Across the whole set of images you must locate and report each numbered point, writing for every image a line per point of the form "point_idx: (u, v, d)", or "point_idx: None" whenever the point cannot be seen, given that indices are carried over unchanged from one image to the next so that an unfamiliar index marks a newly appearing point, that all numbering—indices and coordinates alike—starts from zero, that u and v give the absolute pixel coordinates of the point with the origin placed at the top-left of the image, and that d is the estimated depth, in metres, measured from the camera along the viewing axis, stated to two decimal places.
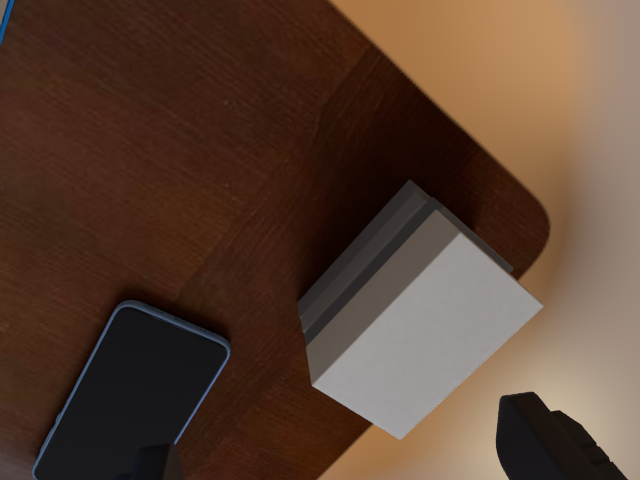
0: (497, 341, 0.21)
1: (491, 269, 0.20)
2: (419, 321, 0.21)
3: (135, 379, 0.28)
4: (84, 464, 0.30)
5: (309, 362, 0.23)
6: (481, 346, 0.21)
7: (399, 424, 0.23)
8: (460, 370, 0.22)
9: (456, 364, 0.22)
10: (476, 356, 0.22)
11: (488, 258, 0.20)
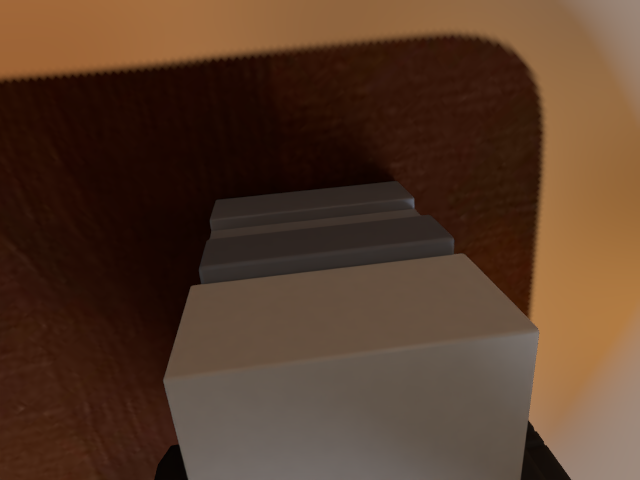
0: (505, 457, 0.08)
1: (323, 377, 0.07)
2: None
3: None
4: None
5: None
6: None
7: None
8: None
9: None
10: None
11: (290, 366, 0.07)
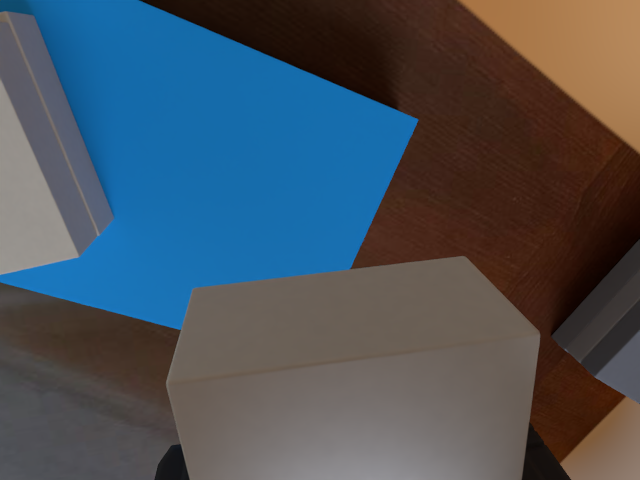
0: (506, 459, 0.08)
1: (325, 380, 0.07)
2: None
3: None
4: None
5: None
6: None
7: None
8: None
9: None
10: None
11: (292, 369, 0.07)
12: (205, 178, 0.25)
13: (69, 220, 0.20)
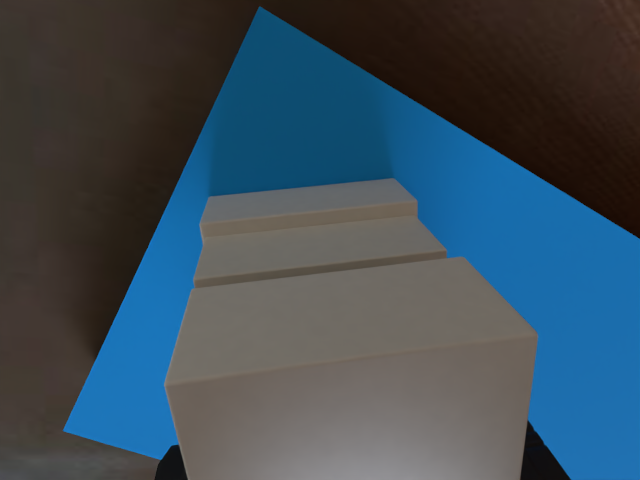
0: (504, 460, 0.08)
1: (323, 381, 0.07)
2: None
3: None
4: None
5: None
6: None
7: None
8: None
9: None
10: None
11: (290, 369, 0.07)
12: None
13: None
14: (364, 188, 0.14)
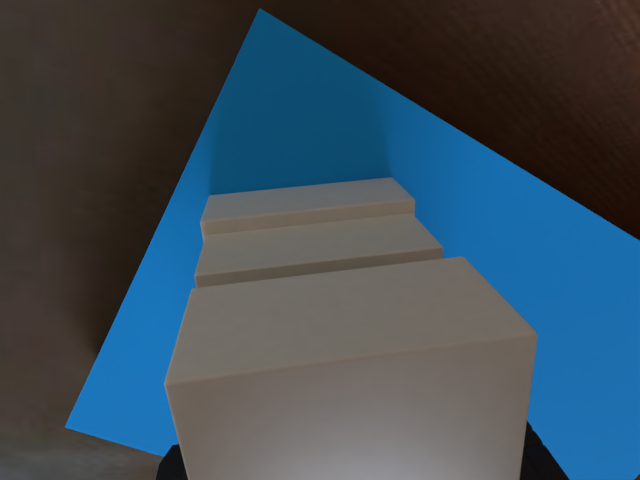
0: (503, 459, 0.08)
1: (323, 381, 0.07)
2: None
3: None
4: None
5: None
6: None
7: None
8: None
9: None
10: None
11: (290, 369, 0.07)
12: None
13: None
14: (363, 186, 0.15)
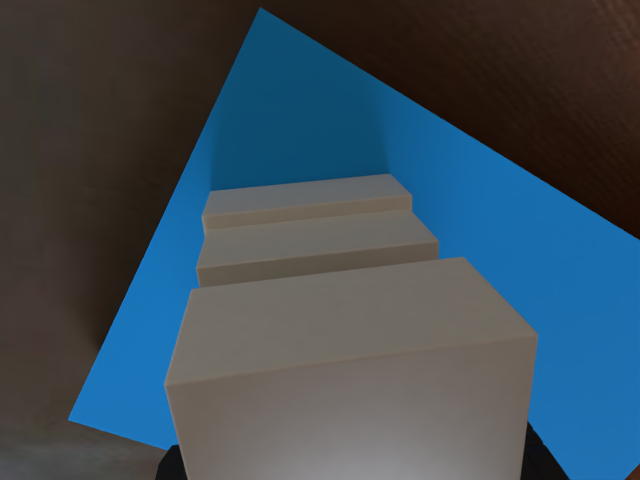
0: (504, 460, 0.08)
1: (323, 381, 0.07)
2: None
3: None
4: None
5: None
6: None
7: None
8: None
9: None
10: None
11: (290, 369, 0.07)
12: None
13: None
14: (361, 183, 0.15)
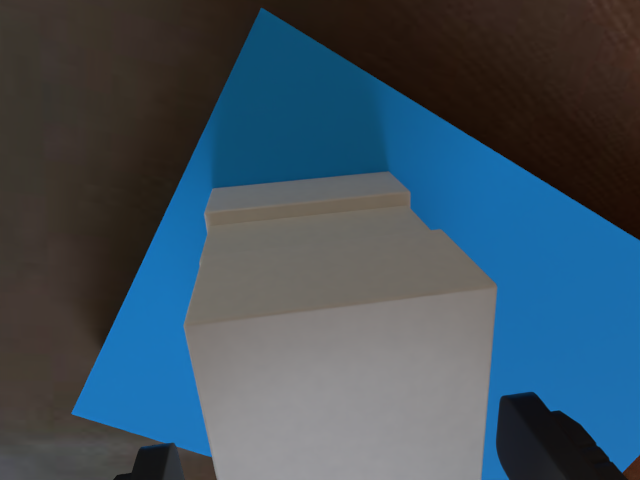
0: (472, 398, 0.10)
1: (316, 324, 0.09)
2: (297, 477, 0.10)
3: None
4: None
5: None
6: (451, 425, 0.10)
7: None
8: (456, 475, 0.10)
9: (439, 474, 0.10)
10: (460, 442, 0.10)
11: (289, 313, 0.08)
12: (512, 365, 0.20)
13: None
14: (360, 180, 0.15)
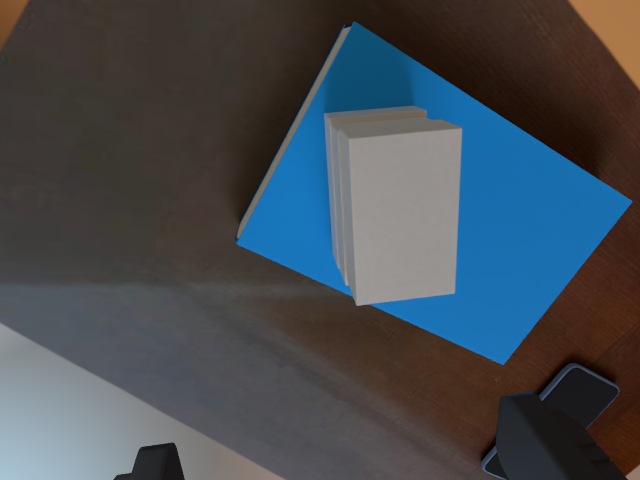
0: (453, 178, 0.24)
1: (395, 140, 0.23)
2: (383, 212, 0.25)
3: (564, 409, 0.47)
4: None
5: (351, 291, 0.28)
6: (445, 191, 0.25)
7: (442, 284, 0.27)
8: (447, 218, 0.25)
9: (440, 216, 0.25)
10: (449, 200, 0.25)
11: (386, 136, 0.23)
12: (482, 224, 0.35)
13: None
14: (400, 108, 0.30)
